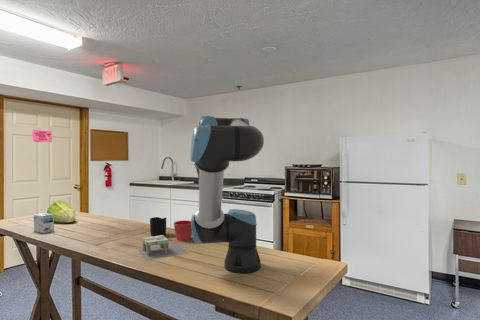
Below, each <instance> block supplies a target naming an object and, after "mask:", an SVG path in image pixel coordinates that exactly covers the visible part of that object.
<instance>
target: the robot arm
mask: <svg viewBox="0 0 480 320" xmlns="http://www.w3.org/2000/svg"><path fill="white" fill-rule="evenodd" d="M198 120H199V121H198V125H197V126H195V128H194V129H193V131H192V136H191V145H190V161H191V162H193V163H194V164H193V165H194V167H195V169H196V173H197V177H198V209H197V210H196V211H195V213H194V214H192V215H191V218H190V221H191V227H192V239H193V242H194V243H195V244H200V245H201V244H202V245H204V244H205V245H207V244H221V243H228V248H227V252H226V254H225V258H224V269H226V270H227V271H229V272H232V273H236V274H248V273H254V272H256V271H259V270H260V269H261V264H262V263H261V258H260V255H259V252H258V249H257V216H256V214H255V213H254V212H252V211H249V210H245V209H238V208H237V209H236V208H235V209H228V211H227V213H224V211H223V210H222V204H223V203H222V201H223V189H224V188H223V187H224V178H225V175H224V174H225V171H226V170H227V169H228V167H229V165H230V162H244V161H248V160H251V159H253V158H254V157H255V156H257V155H258V154H259V153H260V152H262V151H261V150H262V149H263V148H264V142H265V139H264V135H263V133H262V132H261V130H259V128H257V127H256V126H252V125H250V121H249V119H248V118H245V117H244V118H243V117H237V118H236V117H235V118H234V117H232V118H231V117H229V118H228V117H214V116H212V115H202V116H199V119H198Z"/></svg>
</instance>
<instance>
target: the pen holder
mask: <svg viewBox="0 0 480 320" xmlns="http://www.w3.org/2000/svg"><path fill="white" fill-rule="evenodd" d="M149 228H150V229H149V230H150V237H152V236H160V235H163V236H165V237H166V234H167V217H163V218H162V217H159V216H158V217H157V216H154V217H150V218H149Z"/></svg>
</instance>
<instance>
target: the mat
mask: <svg viewBox="0 0 480 320" xmlns="http://www.w3.org/2000/svg"><path fill="white" fill-rule="evenodd" d="M136 249H137V252H139V253H140V255H141V256H142V258H143V259H144V261H150V260H154V259H155V260H156V259H161V258H167V257H175V256H178V255H179V256H180V255H186V254H189V252H188V251H187V250H186V249H184V248H183V247H182V246H181V245H179V244H178V243H177V242H173V243H172V242H170V243H168V252H167V253H165V252H164V248H160V244H158V245H151V246H150V255H148V256H147V255H146V250H145V251H143V247H138V248H136Z"/></svg>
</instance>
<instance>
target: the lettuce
mask: <svg viewBox="0 0 480 320" xmlns="http://www.w3.org/2000/svg"><path fill="white" fill-rule="evenodd" d="M46 211H47V212H46V214H54V223H59V224H60V223H61V224H65V223H72V222H74V221H75V220H76V211H75V210H74V209H73V206H71V205H70V204H69V203H67V202H66V201H62V200H58V201H55V202H52V204H50V205H49V207H48V208H47V210H46Z"/></svg>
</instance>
